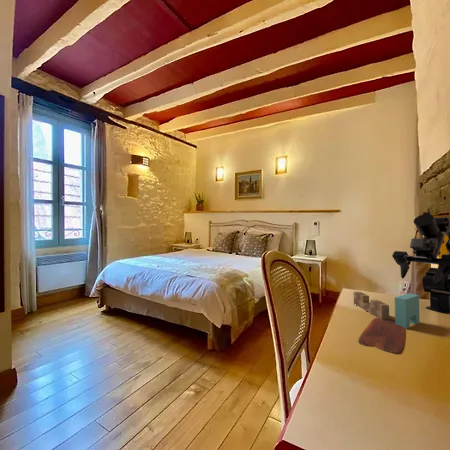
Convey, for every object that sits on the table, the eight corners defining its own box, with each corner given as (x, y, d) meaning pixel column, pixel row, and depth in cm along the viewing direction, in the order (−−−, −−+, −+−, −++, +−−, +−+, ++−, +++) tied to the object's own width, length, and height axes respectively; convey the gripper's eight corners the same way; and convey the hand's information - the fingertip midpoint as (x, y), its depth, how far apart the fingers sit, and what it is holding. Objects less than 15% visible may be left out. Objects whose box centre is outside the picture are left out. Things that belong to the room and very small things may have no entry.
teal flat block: (409, 320, 84) (408, 293, 84) (419, 322, 82) (419, 295, 82) (395, 325, 80) (394, 297, 80) (406, 329, 77) (405, 299, 77)
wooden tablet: (401, 358, 61) (401, 351, 62) (356, 346, 68) (356, 340, 68) (409, 324, 82) (409, 319, 82) (374, 317, 88) (374, 312, 88)
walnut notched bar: (353, 303, 102) (353, 291, 102) (359, 303, 102) (359, 291, 102) (381, 320, 84) (381, 305, 84) (389, 320, 84) (389, 305, 84)
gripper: (393, 229, 95) (378, 262, 90) (457, 229, 79) (444, 269, 74) (404, 248, 99) (391, 280, 94) (467, 252, 83) (456, 291, 78)
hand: (417, 280), depth 85 cm, fingers open, 9 cm apart
